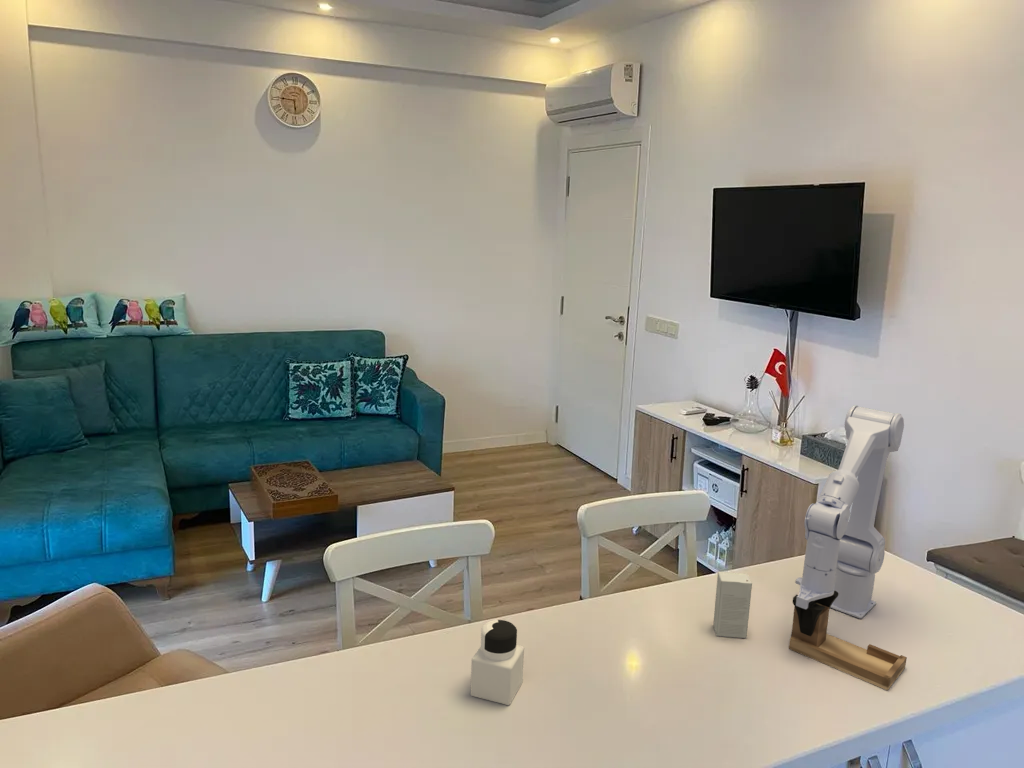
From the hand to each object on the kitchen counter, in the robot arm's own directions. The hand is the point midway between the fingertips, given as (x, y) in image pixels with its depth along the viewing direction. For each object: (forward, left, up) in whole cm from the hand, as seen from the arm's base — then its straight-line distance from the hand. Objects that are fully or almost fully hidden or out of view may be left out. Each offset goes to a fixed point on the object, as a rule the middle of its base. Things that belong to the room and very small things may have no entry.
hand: (811, 628), depth 146 cm
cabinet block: (0, 0, -2) cm, 3 cm away
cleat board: (0, +7, -3) cm, 8 cm away
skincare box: (+8, -13, -3) cm, 16 cm away
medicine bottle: (+55, -32, -3) cm, 64 cm away
